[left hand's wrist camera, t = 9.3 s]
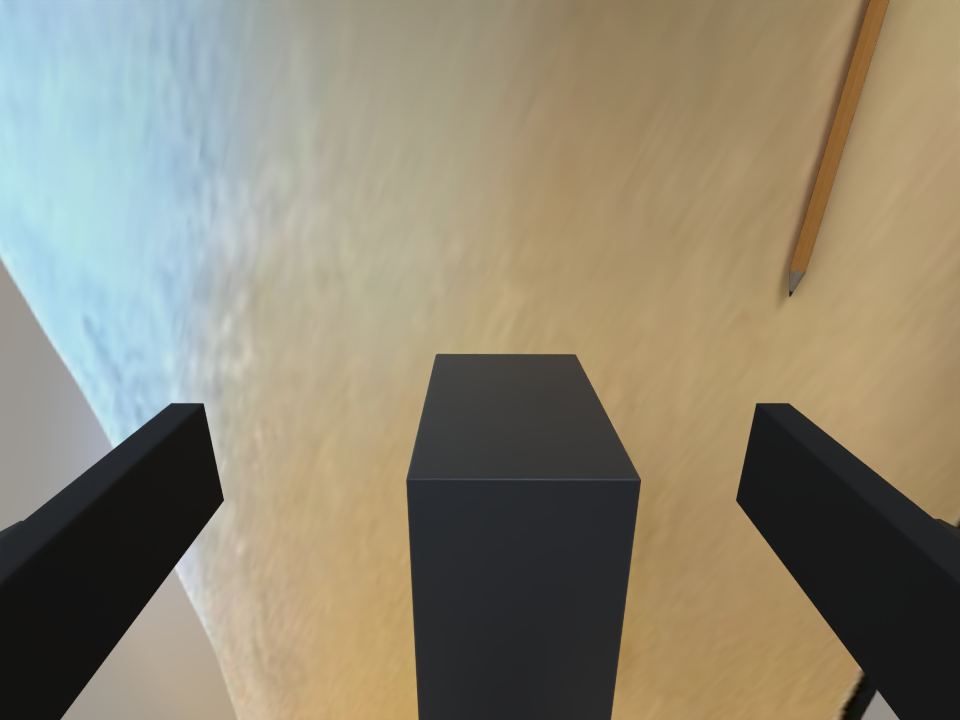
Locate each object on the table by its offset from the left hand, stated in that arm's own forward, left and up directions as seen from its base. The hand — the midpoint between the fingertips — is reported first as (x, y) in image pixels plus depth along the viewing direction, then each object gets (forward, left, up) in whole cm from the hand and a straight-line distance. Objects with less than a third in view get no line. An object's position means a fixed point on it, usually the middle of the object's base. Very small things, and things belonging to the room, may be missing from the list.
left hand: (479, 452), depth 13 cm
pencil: (-14, +18, -22) cm, 32 cm away
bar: (+15, +5, -10) cm, 18 cm away
